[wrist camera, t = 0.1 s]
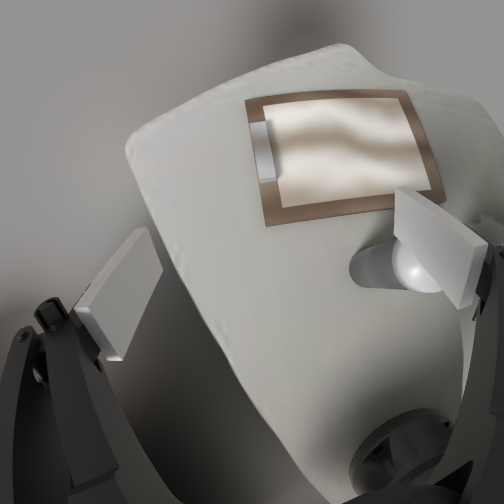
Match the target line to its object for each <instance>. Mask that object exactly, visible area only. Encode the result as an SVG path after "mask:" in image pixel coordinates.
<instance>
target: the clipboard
mask: <svg viewBox="0 0 504 504" xmlns="http://www.w3.org/2000/svg"><path fill="white" fill-rule="evenodd" d="M245 105H246V110H247V116H248V122H249V127H250V133H251V139H252V145H253V151H254V157H255V163H256V169H257V175H258V181H259V187H260V193H261V200H262V206H263V212H264V219H265V225H266V227H268V226H275V225H281V224H288V223H294V222H301V221H308V220H315V219H322V218H329V217H336V216H343V215H350V214H357V213H365V212H372V211H380V210H388V209H395V187H399V186H408V187H410V188H411V189H413V190H415V191H416V192H418V193H419V194H421V195H422V196H424V197H426V198H427V199H429V200H430V201H432V202H433V203H435V204H437V203H443V202H445V201H446V198H445V194H444V190H443V187H442V183H441V180H440V177H439V173H438V170H437V167H436V164H435V161H434V158H433V155H432V152H431V150H430V147H429V144H428V142H427V139H426V136H425V134H424V131H423V129H422V126H421V124H420V122H419V119H418V117H417V115H416V112H415V110H414V108H413V106H412V104H411V102H410V99H409V97H408V95H407V93H406V91H396V90H330V91H314V92H302V93H292V94H283V95H275V96H267V97H261V98H254V99H248V100H245Z"/></svg>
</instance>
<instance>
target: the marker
mask: <svg viewBox="0 0 504 504" xmlns="http://www.w3.org/2000/svg"><path fill="white" fill-rule="evenodd" d="M349 272H350V275H351V278H352V279H353V281H354V282H355V283H356V284H357V285H359V286H361V287H368V288H384V289H402V290H411V291H415V292H429V293H435V292H439V291H442V289H441V288H440V286H439V285H438V284H437V283H436V281H435V280H434V279H433V278H432V277H431V275H430V274H429V273H428V272H427V271H426V269H425V268H424V267H423V266H422V265H421V264H420V263H419V261H418V260H417V259H416V258H415V257H414V256H413V255H412V253H411V252H410V251H409V250H408V249H407V248H406V247H405V246H404V245H403V244H402V243H401V241H400V240H399V239H398V238H397V237H394V238H392V239H389V240H387V241H384V242H382V243H379V244H377V245H374V246H372V247H369V248H367V249H364V250H362V251H359V252H357V253H356V254H355V255H354V256H353V258H352V259H351V262H350V266H349Z"/></svg>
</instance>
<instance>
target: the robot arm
mask: <svg viewBox="0 0 504 504" xmlns="http://www.w3.org/2000/svg"><path fill="white" fill-rule="evenodd" d="M394 235H395V236H396V237H397V238H398V239H399V240H400V241H401V243H402V244H403V245H404V246H405V247H406V248H407V249H408V250H409V251H410V252H411V253H412V255H413V256H414V257H415V258H416V259H417V260H418V261H419V263H420V264H421V265H422V266H423V267H424V268H425V269H426V271H427V272H428V273H429V274H430V275H431V277H432V278H433V279H434V280H435V281H436V283H437V284H438V285H439V286H440V288H441V289H442V290H443V291H444V293H445V294H446V295H447V296H448V298H449V299H450V300H451V302H452V303H453V304H454V305H455V307H456V308H457V309H458V310H459V309H462V308H465V307H467V306H470V305H471V304H472V301H473V298H474V295H475V292H476V294H477V295H478V296H479V297H480V300H479V303H478V306H477V308H476V311H475V314H474V316H473V319H472V320H473V321H474V320H475V318H476V317H477V318H476V328H475V337H474V344H473V351H472V357H471V362H470V368H469V373H468V378H467V382H466V387H465V391H464V395H463V399H462V402H461V406H460V410H459V413H458V416H457V420H456V423H455V426H454V425H453V423H452V422H451V421H450V420H449V419H448V418H447V417H446V416H444V415H443V414H442V413H441V412H439V411H436V410H433V409H419V410H414V411H410V412H407V413H404V414H402V415H400V416H397V417H395V418H394V419H392V420H390V421H388V422H387V423H385V424H384V425H382V426H381V427H379V428H378V429H377V430H376V431H374V432H373V433H372V434H371V435H370V436H369V437H368V438H367V439H366V440H365V441H364V442H363V443H362V445H361V446H360V447H359V449H358V450H357V451H356V453H355V455H354V457H353V459H352V461H351V464H350V469H349V476H350V480H351V483H352V486H353V489H354V490H355V492H356V493H357V495H358V497H356V498H354V499H351V500H349V501H347V502H345V503H343V504H504V246H497V247H494V246H493V245H491V244H490V243H489V242H488V241H486V240H485V239H484V238H483V237H482V236H480V235H478V233H476V232H475V231H473V229H471V228H470V227H469V226H467V225H466V224H464V223H462V222H460V221H459V220H457V219H456V218H455V217H453V216H452V215H451V214H449V213H448V212H446V211H445V210H443V209H442V208H441V207H439V206H438V205H436V204H435V203H433V202H432V201H430V200H429V199H427V198H426V197H424V196H422V195H421V194H419V193H418V192H416V191H415V190H413V189H411V188H410V187H408V186H399V187H395V217H394ZM162 272H163V269H162V266H161V264H160V261H159V259H158V256H157V253H156V251H155V248H154V245H153V242H152V239H151V237H150V234H149V231H148V228H147V227H144V228H139V229H135V230H134V231H133V232H132V233H131V235H130V236H129V237H128V238H127V239H126V241H125V242H124V243H123V244H122V245H121V247H120V248H119V249H118V250H117V251H116V253H115V254H114V255H113V256H112V258H111V259H110V260H109V261H108V263H107V264H106V265H105V267H104V268H103V269H102V270H101V271H100V273H99V274H98V276H97V277H96V278H95V280H94V281H93V282H92V283H91V284H90V285H89V286H88V288H87V289H86V290H85V293H83V294H82V296H81V297H80V299H79V300H78V301H77V303H76V304H75V306H74V307H73V308H72V310H71V311H70V313H69V314H68V313H67V311H66V310H65V308H64V306H63V305H62V303H61V301H60V299H59V298H58V297H53V298H50V299H48V300H46V301H44V302H43V303H42V304H40V305H39V307H38V308H37V309H36V310H35V312H34V316H35V318H36V319H37V321H38V323H39V324H40V326H41V327H42V328H43V330H44V331H45V332H44V333H41V334H37V333H36V331H35V330H34V329H33V327H32V326H27V327H24V328H22V329H20V330H19V331H18V332H17V334H16V335H15V337H14V339H13V341H12V344H11V347H10V350H9V353H8V357H7V360H6V364H5V367H4V371H3V375H2V378H1V382H0V504H182V503H181V502H180V501H179V500H177V499H176V498H175V497H174V496H173V495H172V493H171V492H170V491H169V489H168V488H167V486H166V485H165V484H164V482H163V481H162V479H161V478H160V476H159V475H158V473H157V472H156V470H155V468H154V467H153V465H152V464H151V462H150V460H149V459H148V457H147V456H146V454H145V452H144V451H143V449H142V447H141V445H140V443H139V442H138V440H137V438H136V436H135V434H134V433H133V431H132V429H131V427H130V425H129V423H128V421H127V419H126V417H125V415H124V413H123V411H122V409H121V407H120V405H119V403H118V400H117V398H116V396H115V394H114V392H113V389H112V387H111V385H110V383H109V380H108V378H107V375H106V373H105V370H104V367H103V365H102V363H101V361H100V360H99V359H98V355H99V353H100V351H101V352H102V353H103V354H104V356H105V357H106V358H107V360H112V361H123V358H124V356H125V354H126V351H127V349H128V346H129V344H130V341H131V339H132V337H133V335H134V332H135V330H136V328H137V325H138V323H139V321H140V319H141V316H142V314H143V312H144V310H145V308H146V305H147V303H148V301H149V299H150V297H151V295H152V292H153V290H154V288H155V286H156V284H157V282H158V280H159V278H160V276H161V274H162ZM33 371H34V372H35V373H36V374H37V376H38V377H39V378H40V379H39V382H37V381H36V380H35V377H34V374H33ZM68 466H69V469H70V472H71V475H72V478H73V481H74V484H75V489H74V490H73V491H71V486H70V479H69V472H68Z"/></svg>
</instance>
